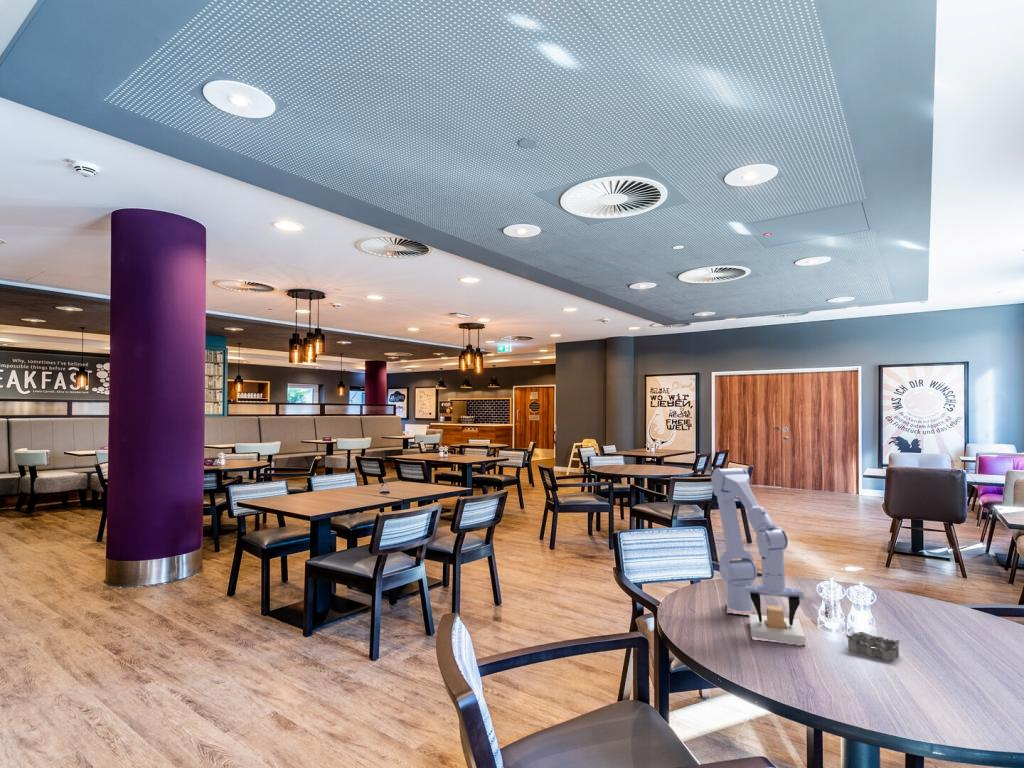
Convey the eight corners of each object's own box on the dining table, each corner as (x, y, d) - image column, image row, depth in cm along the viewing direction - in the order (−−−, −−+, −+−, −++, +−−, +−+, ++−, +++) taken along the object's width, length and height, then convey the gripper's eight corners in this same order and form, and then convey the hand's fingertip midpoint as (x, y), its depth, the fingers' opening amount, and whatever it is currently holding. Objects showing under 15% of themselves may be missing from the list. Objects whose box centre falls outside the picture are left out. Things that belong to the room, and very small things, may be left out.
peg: (767, 630, 156) (766, 605, 156) (783, 632, 154) (782, 606, 155) (768, 635, 152) (767, 610, 152) (784, 637, 150) (783, 611, 151)
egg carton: (844, 650, 142) (843, 634, 142) (855, 642, 147) (854, 626, 147) (893, 664, 134) (891, 647, 134) (903, 655, 139) (901, 638, 139)
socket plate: (749, 622, 161) (749, 614, 162) (799, 628, 157) (798, 619, 157) (751, 639, 149) (751, 630, 149) (805, 646, 145) (804, 636, 145)
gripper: (745, 574, 153) (747, 624, 152) (804, 579, 148) (806, 630, 147) (744, 567, 159) (746, 615, 159) (800, 571, 154) (803, 621, 153)
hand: (775, 622), depth 153 cm, fingers open, 7 cm apart
